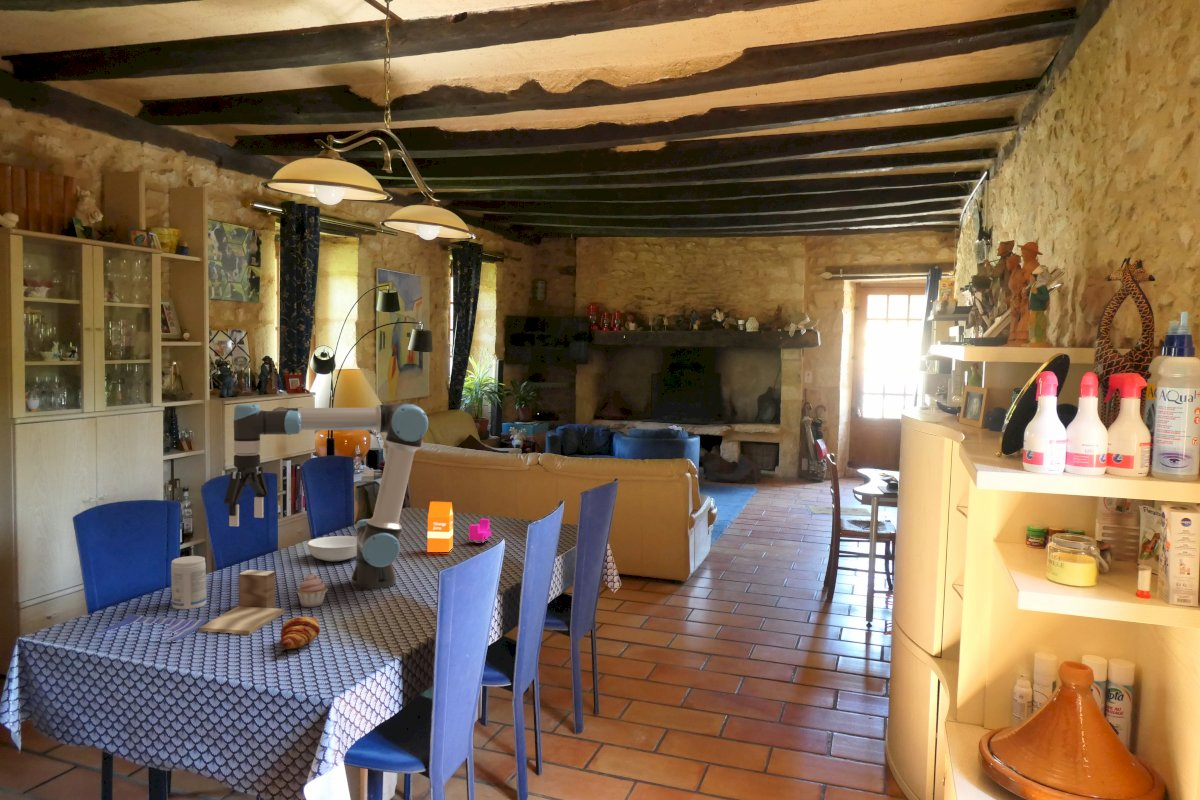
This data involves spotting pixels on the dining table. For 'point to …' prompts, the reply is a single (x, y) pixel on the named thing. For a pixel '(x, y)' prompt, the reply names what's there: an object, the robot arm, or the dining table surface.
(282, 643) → the croissant
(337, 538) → the serving bowl
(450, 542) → the orange juice
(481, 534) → the toy block
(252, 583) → the wooden block
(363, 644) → the dining table surface
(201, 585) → the supplement tub
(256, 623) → the board
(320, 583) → the cupcake
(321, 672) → the dining table surface
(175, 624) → the dish towel
